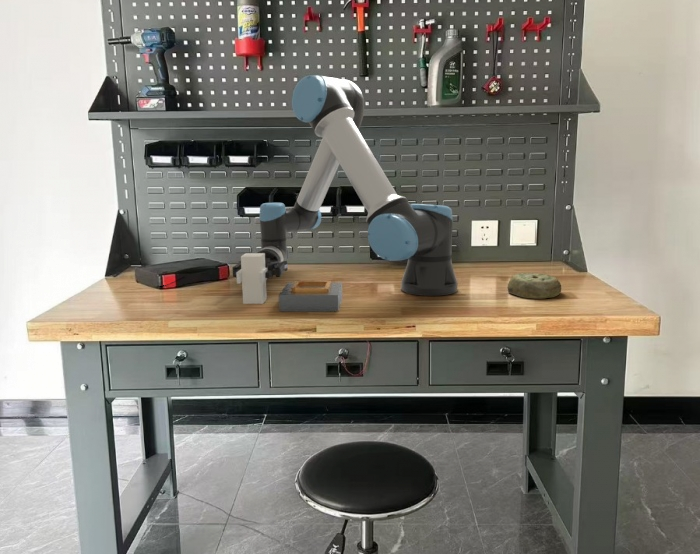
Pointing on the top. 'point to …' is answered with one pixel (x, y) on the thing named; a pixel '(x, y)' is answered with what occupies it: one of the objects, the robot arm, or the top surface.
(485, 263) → the top surface
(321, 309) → the jig plate
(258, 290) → the column
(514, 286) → the weight
